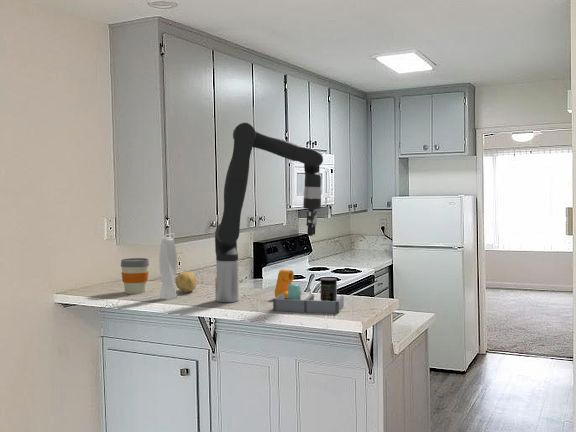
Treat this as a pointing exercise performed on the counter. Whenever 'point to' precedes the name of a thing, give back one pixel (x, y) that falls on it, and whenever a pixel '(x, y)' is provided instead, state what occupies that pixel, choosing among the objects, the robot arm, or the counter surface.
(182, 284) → the potato
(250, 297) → the counter surface
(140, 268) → the reusable coffee cup
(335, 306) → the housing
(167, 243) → the skyscraper
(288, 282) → the bracket
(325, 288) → the supplement container
